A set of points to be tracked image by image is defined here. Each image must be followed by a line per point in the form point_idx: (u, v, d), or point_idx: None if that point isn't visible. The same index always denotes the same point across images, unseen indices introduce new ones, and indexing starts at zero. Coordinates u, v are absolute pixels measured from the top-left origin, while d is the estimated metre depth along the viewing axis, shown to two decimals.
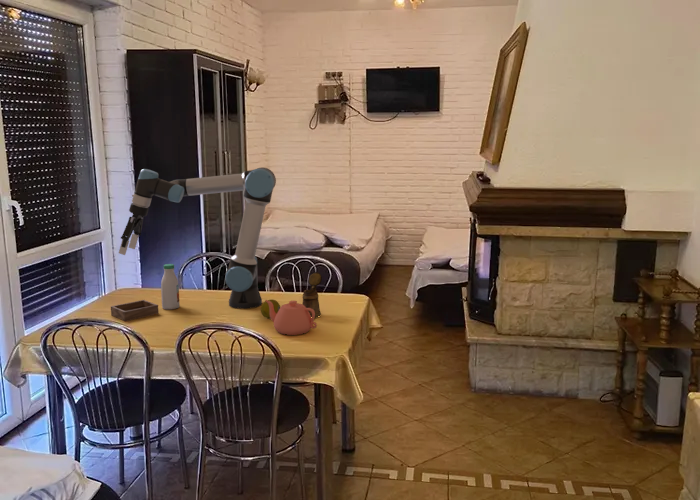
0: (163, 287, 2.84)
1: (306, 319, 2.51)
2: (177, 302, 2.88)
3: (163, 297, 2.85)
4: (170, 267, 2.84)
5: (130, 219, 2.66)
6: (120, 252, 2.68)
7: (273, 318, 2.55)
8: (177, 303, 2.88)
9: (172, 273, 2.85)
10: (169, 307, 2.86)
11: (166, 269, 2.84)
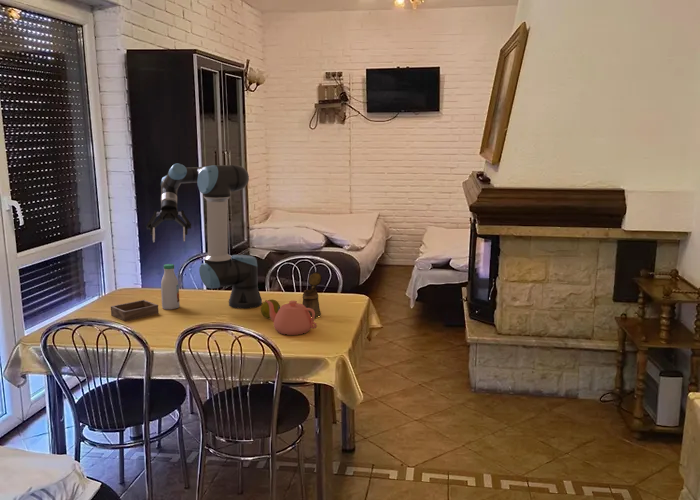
0: (163, 287, 2.84)
1: (306, 319, 2.51)
2: (177, 302, 2.88)
3: (163, 297, 2.85)
4: (170, 267, 2.84)
5: None
6: None
7: (273, 318, 2.55)
8: (177, 303, 2.88)
9: (172, 273, 2.85)
10: (169, 307, 2.86)
11: (166, 269, 2.84)
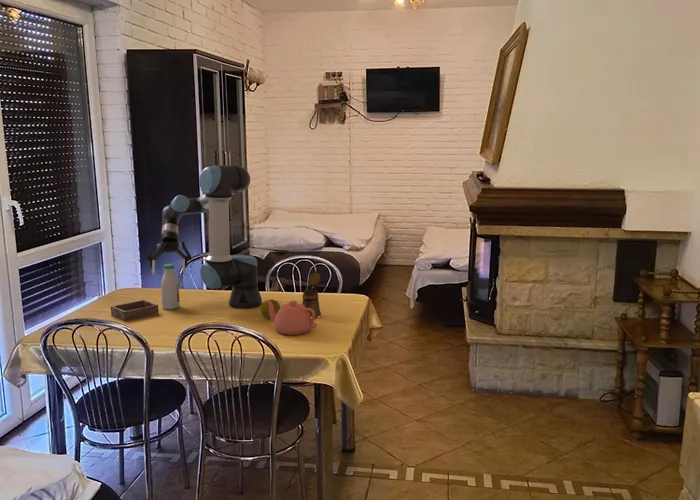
0: (163, 287, 2.84)
1: (306, 319, 2.51)
2: (177, 302, 2.88)
3: (163, 297, 2.85)
4: (170, 267, 2.84)
5: None
6: None
7: (273, 318, 2.55)
8: (177, 303, 2.88)
9: (172, 273, 2.85)
10: (169, 307, 2.86)
11: (166, 269, 2.84)
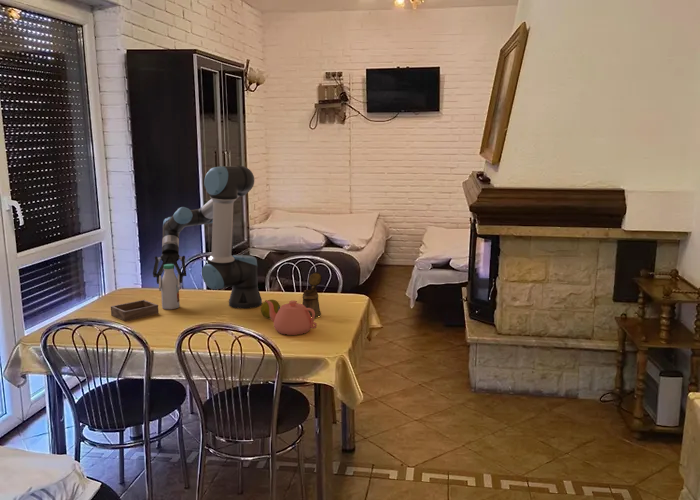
0: (163, 287, 2.84)
1: (306, 319, 2.51)
2: (177, 302, 2.88)
3: (163, 297, 2.85)
4: (170, 267, 2.84)
5: (155, 260, 2.92)
6: (159, 289, 2.84)
7: (273, 318, 2.55)
8: (177, 303, 2.88)
9: (172, 273, 2.85)
10: (169, 307, 2.86)
11: (166, 269, 2.84)
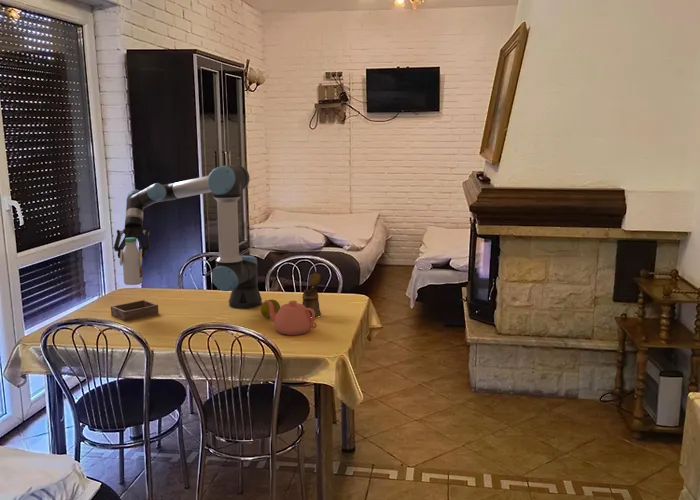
0: (124, 261, 2.71)
1: (306, 319, 2.51)
2: (140, 277, 2.74)
3: (125, 272, 2.72)
4: (132, 240, 2.70)
5: None
6: (120, 263, 2.71)
7: (273, 318, 2.55)
8: (140, 278, 2.74)
9: (134, 247, 2.72)
10: (131, 282, 2.72)
11: (127, 242, 2.70)
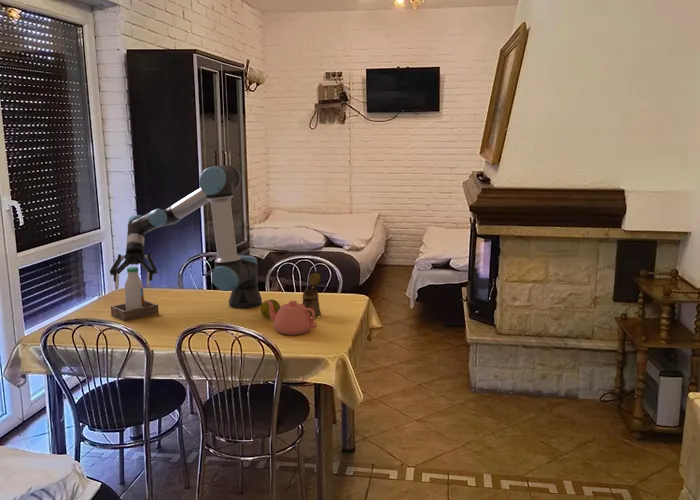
0: (126, 291, 2.73)
1: (306, 319, 2.51)
2: (141, 307, 2.76)
3: (127, 301, 2.74)
4: (134, 270, 2.73)
5: None
6: (116, 287, 2.73)
7: (273, 318, 2.55)
8: None
9: (136, 276, 2.74)
10: None
11: (129, 272, 2.73)
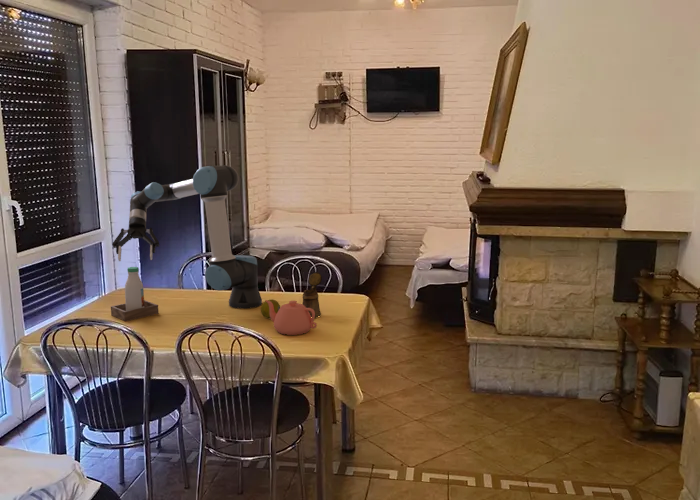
0: (127, 291, 2.73)
1: (306, 319, 2.51)
2: (141, 307, 2.76)
3: (127, 301, 2.74)
4: (134, 270, 2.73)
5: None
6: None
7: (273, 318, 2.55)
8: None
9: (136, 276, 2.74)
10: None
11: (130, 272, 2.73)
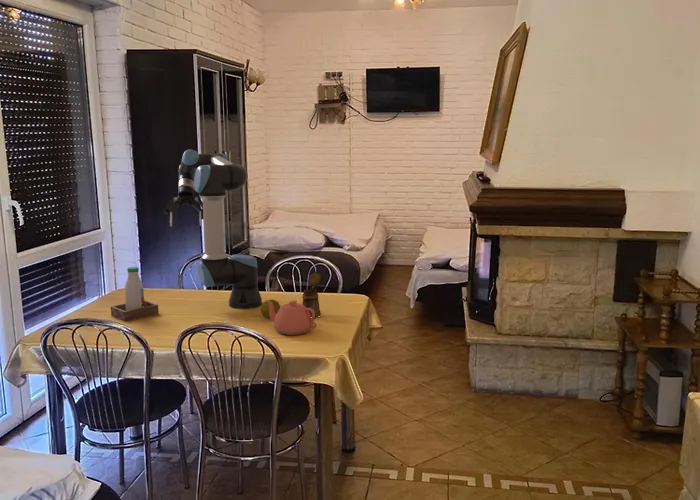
0: (127, 291, 2.73)
1: (306, 319, 2.51)
2: (141, 307, 2.76)
3: (127, 301, 2.74)
4: (134, 270, 2.73)
5: None
6: (170, 224, 3.00)
7: (273, 318, 2.55)
8: None
9: (136, 276, 2.74)
10: None
11: (130, 272, 2.73)
